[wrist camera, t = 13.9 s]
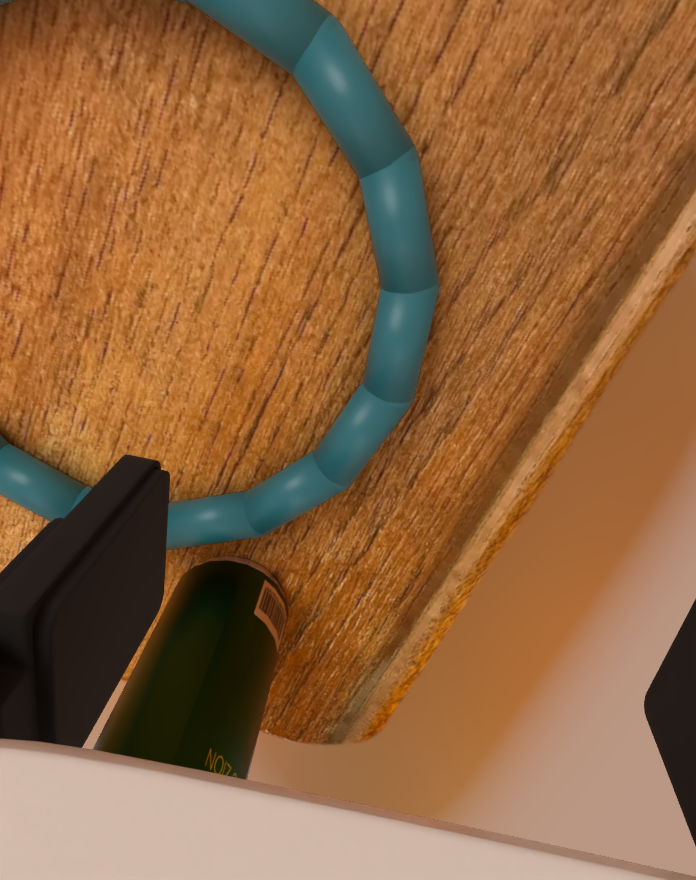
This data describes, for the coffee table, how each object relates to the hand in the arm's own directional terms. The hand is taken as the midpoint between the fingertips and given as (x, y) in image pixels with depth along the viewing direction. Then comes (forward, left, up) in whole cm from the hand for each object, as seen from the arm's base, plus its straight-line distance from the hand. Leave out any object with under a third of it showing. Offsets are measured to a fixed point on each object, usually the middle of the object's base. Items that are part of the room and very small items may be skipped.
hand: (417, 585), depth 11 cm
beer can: (+6, +14, -15) cm, 21 cm away
